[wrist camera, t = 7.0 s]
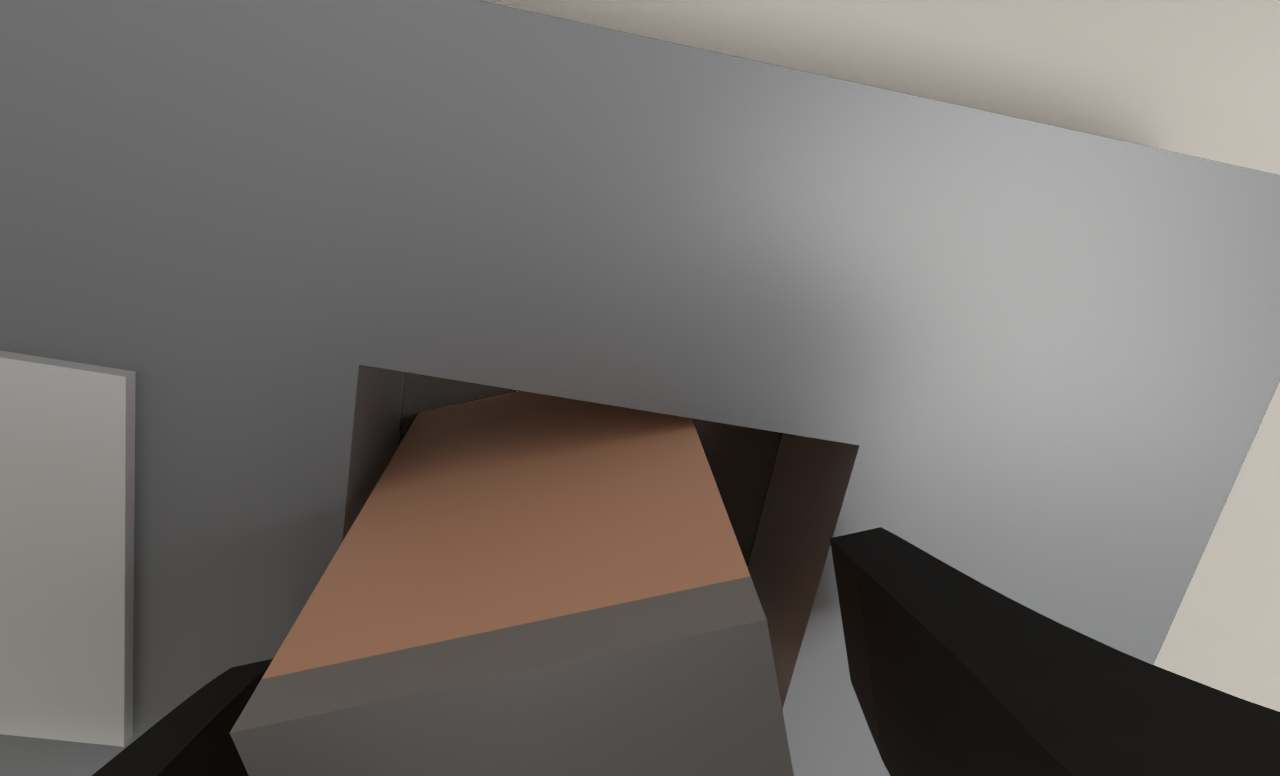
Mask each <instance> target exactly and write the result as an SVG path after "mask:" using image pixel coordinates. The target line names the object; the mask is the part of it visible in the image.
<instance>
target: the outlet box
mask: <svg viewBox="0 0 1280 776" xmlns="http://www.w3.org/2000/svg"><path fill="white" fill-rule="evenodd" d="M406 372H408V373H414V374H420V375H426V376H433V377H439V378H445V379H451V380H457V381H464V382H470V383H476V384H482V385H488V386H495V387H501V388H507V389H513V390H519V391H526V392H532V393H538V394H544V395H550V396H557V397H563V398H569V399H575V400H581V401H588V402H594V403H600V404H606V405H612V406H619V407H625V408H631V409H637V410H643V411H650V412H656V413H662V414H668V415H674V416H681V417H687V418H693V419H699V420H705V421H711V422H718V423H724V424H730V425H736V426H742V427H749V428H755V429H761V430H767V431H773V432H780V433H783V434H782V437H781V441H780V445H779V449H778V453H777V457H776V460H775V464H774V468H773V472H772V476H771V480H770V483H769V487H768V491H767V495H766V499H765V503H764V506H763V510H762V514H761V518H760V522H759V526H758V529H757V533H756V537H755V541H754V545H753V549H752V552H751V556H750V560H749V564H748V571H749V573H750V576H751V579H752V581H753V584H754V587H755V590H756V592H757V595H758V598H759V600H760V603H761V606H762V608H763V611H764V614H765V616H766V619H767V624H768V630H769V636H770V641H771V647H772V653H773V659H774V664H775V670H776V676H777V682H778V687H779V693H780V699H781V705H782V710H783V716H784V722H785V728H786V733H787V739H788V745H789V751H790V756H791V762H792V768H793V774H794V776H890V774H889V772H888V770H887V769H886V767H885V765H884V763H883V761H882V759H881V756H880V754H879V751H878V749H877V746H876V744H875V741H874V739H873V737H872V734H871V732H870V729H869V727H868V724H867V722H866V719H865V717H864V714H863V711H862V709H861V706H860V704H859V701H858V699H857V696H856V693H855V691H854V688H853V686H852V683H851V679H850V673H849V666H848V659H847V652H846V645H845V639H844V632H843V625H842V618H841V611H840V605H839V598H838V591H837V584H836V577H835V571H834V564H833V557H832V550H831V543H830V538H833V537H838V536H842V535H847V534H851V533H856V532H861V531H865V530H870V529H875V528H879V527H882V528H884V529H885V530H887V531H889V532H891V533H893V534H895V535H897V536H899V537H900V538H902V539H904V540H906V541H907V542H909V543H911V544H913V545H914V546H916V547H918V548H920V549H921V550H923V551H925V552H927V553H928V554H930V555H932V556H934V557H935V558H937V559H939V560H941V561H942V562H944V563H946V564H948V565H950V566H951V567H953V568H955V569H957V570H958V571H960V572H962V573H964V574H966V575H967V576H969V577H971V578H973V579H975V580H977V581H978V582H980V583H982V584H984V585H986V586H988V587H989V588H991V589H993V590H995V591H997V592H999V593H1001V594H1003V595H1004V596H1006V597H1008V598H1010V599H1012V600H1014V601H1016V602H1018V603H1020V604H1022V605H1024V606H1026V607H1028V608H1030V609H1032V610H1034V611H1036V612H1038V613H1040V614H1042V615H1044V616H1046V617H1048V618H1050V619H1052V620H1054V621H1056V622H1058V623H1060V624H1062V625H1064V626H1066V627H1069V628H1071V629H1073V630H1075V631H1077V632H1079V633H1082V634H1084V635H1086V636H1088V637H1090V638H1092V639H1095V640H1097V641H1099V642H1101V643H1103V644H1105V645H1108V646H1110V647H1112V648H1114V649H1116V650H1119V651H1121V652H1123V653H1126V654H1128V655H1130V656H1133V657H1135V658H1137V659H1140V660H1142V661H1145V662H1147V663H1149V664H1152V665H1153V664H1154V662H1155V660H1156V658H1157V655H1158V653H1159V651H1160V649H1161V646H1162V644H1163V642H1164V640H1165V637H1166V635H1167V633H1168V631H1169V628H1170V626H1171V624H1172V622H1173V619H1174V617H1175V615H1176V613H1177V610H1178V608H1179V606H1180V604H1181V601H1182V599H1183V597H1184V595H1185V592H1186V590H1187V588H1188V586H1189V583H1190V581H1191V579H1192V577H1193V575H1194V572H1195V570H1196V568H1197V566H1198V563H1199V561H1200V559H1201V557H1202V554H1203V552H1204V550H1205V548H1206V545H1207V543H1208V541H1209V539H1210V536H1211V534H1212V532H1213V530H1214V527H1215V525H1216V523H1217V521H1218V518H1219V516H1220V514H1221V512H1222V509H1223V507H1224V505H1225V503H1226V500H1227V498H1228V496H1229V494H1230V491H1231V489H1232V487H1233V485H1234V483H1235V480H1236V478H1237V476H1238V474H1239V471H1240V469H1241V467H1242V465H1243V462H1244V460H1245V458H1246V456H1247V453H1248V451H1249V449H1250V447H1251V444H1252V442H1253V440H1254V438H1255V435H1256V433H1257V431H1258V429H1259V426H1260V424H1261V422H1262V420H1263V417H1264V415H1265V413H1266V411H1267V408H1268V406H1269V404H1270V402H1271V400H1272V397H1273V395H1274V393H1275V391H1276V388H1277V386H1278V384H1279V382H1280V175H1277V174H1272V173H1268V172H1263V171H1259V170H1254V169H1249V168H1245V167H1240V166H1236V165H1231V164H1227V163H1222V162H1217V161H1213V160H1208V159H1204V158H1199V157H1194V156H1190V155H1185V154H1181V153H1176V152H1171V151H1167V150H1162V149H1158V148H1153V147H1148V146H1144V145H1139V144H1135V143H1130V142H1125V141H1121V140H1116V139H1112V138H1107V137H1103V136H1098V135H1093V134H1089V133H1084V132H1080V131H1075V130H1070V129H1066V128H1061V127H1057V126H1052V125H1047V124H1043V123H1038V122H1034V121H1029V120H1024V119H1020V118H1015V117H1011V116H1006V115H1001V114H997V113H992V112H988V111H983V110H979V109H974V108H969V107H965V106H960V105H956V104H951V103H946V102H942V101H937V100H933V99H928V98H923V97H919V96H914V95H910V94H905V93H900V92H896V91H891V90H887V89H882V88H877V87H873V86H868V85H864V84H859V83H855V82H850V81H845V80H841V79H836V78H832V77H827V76H822V75H818V74H813V73H809V72H804V71H799V70H795V69H790V68H786V67H781V66H776V65H772V64H767V63H763V62H758V61H753V60H749V59H744V58H740V57H735V56H731V55H726V54H721V53H717V52H712V51H708V50H703V49H698V48H694V47H689V46H685V45H680V44H675V43H671V42H666V41H662V40H657V39H652V38H648V37H643V36H639V35H634V34H629V33H625V32H620V31H616V30H611V29H607V28H602V27H597V26H593V25H588V24H584V23H579V22H574V21H570V20H565V19H561V18H556V17H551V16H547V15H542V14H538V13H533V12H528V11H524V10H519V9H515V8H510V7H505V6H501V5H496V4H492V3H487V2H483V1H478V0H0V776H92V775H93V774H94V773H95V772H97V771H98V770H99V769H100V768H102V767H103V766H104V765H105V764H107V763H108V762H109V761H110V760H111V759H113V758H114V757H115V756H116V755H118V754H119V753H120V752H121V751H123V750H124V749H125V748H126V747H127V746H129V745H130V744H131V743H132V742H134V741H135V740H136V739H137V738H139V737H140V736H141V735H142V734H143V733H145V732H146V731H147V730H148V729H150V728H151V727H152V726H153V725H155V724H156V723H157V722H158V721H160V720H161V719H162V718H163V717H165V716H166V715H167V714H168V713H170V712H171V711H172V710H173V709H175V708H176V707H177V706H178V705H180V704H181V703H182V702H184V701H185V700H186V699H187V698H189V697H190V696H191V695H193V694H194V693H195V692H197V691H198V690H199V689H201V688H202V687H203V686H205V685H206V684H207V683H209V682H210V681H212V680H213V679H215V678H216V677H218V676H219V675H221V674H222V673H224V672H225V671H227V670H228V669H230V668H232V667H236V666H241V665H245V664H250V663H255V662H259V661H264V660H269V659H273V658H274V657H275V655H276V654H277V652H278V650H279V648H280V647H281V645H282V643H283V642H284V640H285V638H286V637H287V635H288V633H289V632H290V630H291V628H292V626H293V625H294V623H295V621H296V620H297V618H298V616H299V615H300V613H301V611H302V610H303V608H304V606H305V604H306V603H307V601H308V599H309V598H310V596H311V594H312V593H313V591H314V589H315V588H316V586H317V584H318V582H319V581H320V579H321V577H322V576H323V574H324V572H325V571H326V569H327V567H328V566H329V564H330V562H331V560H332V559H333V557H334V555H335V554H336V552H337V550H338V549H339V547H340V545H341V544H342V542H343V540H344V538H345V537H346V535H347V533H348V532H349V530H350V528H351V527H352V525H353V523H354V522H355V520H356V518H357V516H358V515H359V513H360V511H361V510H362V508H363V506H364V505H365V503H366V501H367V500H368V498H369V496H370V494H371V493H372V491H373V489H374V488H375V486H376V484H377V483H378V481H379V479H380V478H381V476H382V474H383V472H384V471H385V469H386V467H387V466H388V464H389V462H390V461H391V459H392V457H393V456H394V454H395V452H396V450H397V448H398V439H399V430H400V421H401V413H402V404H403V395H404V386H405V377H406Z"/></svg>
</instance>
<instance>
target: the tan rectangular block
mask: <svg viewBox="0 0 1280 776" xmlns="http://www.w3.org/2000/svg"><path fill="white" fill-rule="evenodd" d="M230 735H231V737H232V739H233V742H234V744H235V746H236V748H237V751H238V753H239V755H240V757H241V759H242V762H243V764H244V766H245V768H246V771H247V773H248V775H249V776H794V774H793V768H792V762H791V756H790V751H789V745H788V739H787V733H786V728H785V722H784V716H783V710H782V705H781V699H780V693H779V687H778V682H777V676H776V670H775V664H774V659H773V653H772V647H771V641H770V636H769V630H768V624H767V619H766V616H765V614H764V611H763V608H762V606H761V603H760V600H759V598H758V595H757V592H756V590H755V587H754V584H753V581H752V579H751V576H750V573H749V571H748V568H747V565H746V563H745V560H744V557H743V555H742V552H741V549H740V547H739V544H738V541H737V538H736V536H735V533H734V530H733V528H732V525H731V522H730V520H729V517H728V514H727V512H726V509H725V506H724V503H723V501H722V498H721V495H720V493H719V490H718V487H717V485H716V482H715V479H714V477H713V474H712V471H711V469H710V466H709V463H708V460H707V458H706V455H705V452H704V450H703V447H702V444H701V442H700V439H699V436H698V434H697V431H696V428H695V425H694V423H693V420H692V418H687V417H681V416H674V415H668V414H662V413H656V412H650V411H643V410H637V409H631V408H625V407H619V406H612V405H606V404H600V403H594V402H588V401H581V400H575V399H569V398H563V397H557V396H550V395H544V394H538V393H532V392H526V391H518V392H513V393H508V394H504V395H499V396H494V397H489V398H485V399H480V400H475V401H470V402H466V403H461V404H456V405H451V406H447V407H442V408H437V409H432V410H428V411H423V412H419V413H418V415H417V417H416V418H415V420H414V422H413V423H412V425H411V427H410V428H409V430H408V432H407V433H406V435H405V437H404V439H403V440H402V442H401V444H400V445H399V447H398V449H397V450H396V452H395V454H394V456H393V457H392V459H391V461H390V462H389V464H388V466H387V467H386V469H385V471H384V472H383V474H382V476H381V478H380V479H379V481H378V483H377V484H376V486H375V488H374V489H373V491H372V493H371V494H370V496H369V498H368V500H367V501H366V503H365V505H364V506H363V508H362V510H361V511H360V513H359V515H358V516H357V518H356V520H355V522H354V523H353V525H352V527H351V528H350V530H349V532H348V533H347V535H346V537H345V538H344V540H343V542H342V544H341V545H340V547H339V549H338V550H337V552H336V554H335V555H334V557H333V559H332V560H331V562H330V564H329V566H328V567H327V569H326V571H325V572H324V574H323V576H322V577H321V579H320V581H319V582H318V584H317V586H316V588H315V589H314V591H313V593H312V594H311V596H310V598H309V599H308V601H307V603H306V604H305V606H304V608H303V610H302V611H301V613H300V615H299V616H298V618H297V620H296V621H295V623H294V625H293V626H292V628H291V630H290V632H289V633H288V635H287V637H286V638H285V640H284V642H283V643H282V645H281V647H280V648H279V650H278V652H277V654H276V655H275V657H274V659H273V660H272V662H271V664H270V665H269V667H268V669H267V671H266V672H265V674H264V676H263V677H262V679H261V681H260V682H259V684H258V686H257V687H256V689H255V691H254V693H253V694H252V696H251V698H250V699H249V701H248V703H247V704H246V706H245V708H244V709H243V711H242V713H241V715H240V716H239V718H238V720H237V721H236V723H235V725H234V726H233V728H232V730H231V731H230Z"/></svg>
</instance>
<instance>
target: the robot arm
mask: <svg viewBox="0 0 1280 776" xmlns="http://www.w3.org/2000/svg"><path fill="white" fill-rule="evenodd" d="M830 543H831V550H832V557H833V564H834V571H835V577H836V584H837V591H838V598H839V605H840V611H841V618H842V625H843V632H844V639H845V645H846V652H847V659H848V666H849V673H850V679H851V683H852V686H853V688H854V691H855V693H856V696H857V699H858V701H859V704H860V706H861V709H862V711H863V714H864V717H865V719H866V722H867V724H868V727H869V729H870V732H871V734H872V737H873V739H874V741H875V744H876V746H877V749H878V751H879V754H880V756H881V759H882V761H883V763H884V765H885V767H886V769H887V770H888V772H889V774H890V776H1280V712H1278V711H1275V710H1272V709H1269V708H1266V707H1263V706H1260V705H1257V704H1254V703H1251V702H1249V701H1246V700H1243V699H1240V698H1237V697H1235V696H1232V695H1229V694H1227V693H1224V692H1222V691H1219V690H1216V689H1214V688H1211V687H1209V686H1206V685H1203V684H1201V683H1198V682H1196V681H1193V680H1190V679H1188V678H1185V677H1182V676H1180V675H1177V674H1175V673H1172V672H1169V671H1167V670H1164V669H1162V668H1159V667H1156V666H1154V665H1152V664H1149V663H1147V662H1145V661H1142V660H1140V659H1137V658H1135V657H1133V656H1130V655H1128V654H1126V653H1123V652H1121V651H1119V650H1116V649H1114V648H1112V647H1110V646H1108V645H1105V644H1103V643H1101V642H1099V641H1097V640H1095V639H1092V638H1090V637H1088V636H1086V635H1084V634H1082V633H1079V632H1077V631H1075V630H1073V629H1071V628H1069V627H1066V626H1064V625H1062V624H1060V623H1058V622H1056V621H1054V620H1052V619H1050V618H1048V617H1046V616H1044V615H1042V614H1040V613H1038V612H1036V611H1034V610H1032V609H1030V608H1028V607H1026V606H1024V605H1022V604H1020V603H1018V602H1016V601H1014V600H1012V599H1010V598H1008V597H1006V596H1004V595H1003V594H1001V593H999V592H997V591H995V590H993V589H991V588H989V587H988V586H986V585H984V584H982V583H980V582H978V581H977V580H975V579H973V578H971V577H969V576H967V575H966V574H964V573H962V572H960V571H958V570H957V569H955V568H953V567H951V566H950V565H948V564H946V563H944V562H942V561H941V560H939V559H937V558H935V557H934V556H932V555H930V554H928V553H927V552H925V551H923V550H921V549H920V548H918V547H916V546H914V545H913V544H911V543H909V542H907V541H906V540H904V539H902V538H900V537H899V536H897V535H895V534H893V533H891V532H889V531H887V530H885V529H884V528H882V527H879V528H875V529H870V530H865V531H861V532H856V533H851V534H847V535H842V536H838V537H833V538H830ZM273 659H274V658H273ZM273 659H269V660H264V661H259V662H255V663H250V664H245V665H241V666H236V667H232V668H230V669H228V670H227V671H225V672H224V673H222V674H221V675H219V676H218V677H216V678H215V679H213V680H212V681H210V682H209V683H207V684H206V685H205V686H203V687H202V688H201V689H199V690H198V691H197V692H195V693H194V694H193V695H191V696H190V697H189V698H187V699H186V700H185V701H184V702H182V703H181V704H180V705H178V706H177V707H176V708H175V709H173V710H172V711H171V712H170V713H168V714H167V715H166V716H165V717H163V718H162V719H161V720H160V721H158V722H157V723H156V724H155V725H153V726H152V727H151V728H150V729H148V730H147V731H146V732H145V733H143V734H142V735H141V736H140V737H139V738H137V739H136V740H135V741H134V742H132V743H131V744H130V745H129V746H127V747H126V748H125V749H124V750H123V751H121V752H120V753H119V754H118V755H116V756H115V757H114V758H113V759H111V760H110V761H109V762H108V763H107V764H105V765H104V766H103V767H102V768H100V769H99V770H98V771H97V772H95V773H94V774H93V775H92V776H249V775H248V773H247V771H246V768H245V766H244V764H243V762H242V759H241V757H240V755H239V753H238V751H237V748H236V746H235V744H234V742H233V739H232V737H231V735H230V731H231V730H232V728H233V726H234V725H235V723H236V721H237V720H238V718H239V716H240V715H241V713H242V711H243V709H244V708H245V706H246V704H247V703H248V701H249V699H250V698H251V696H252V694H253V693H254V691H255V689H256V687H257V686H258V684H259V682H260V681H261V679H262V677H263V676H264V674H265V672H266V671H267V669H268V667H269V665H270V664H271V662H272V660H273Z"/></svg>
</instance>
